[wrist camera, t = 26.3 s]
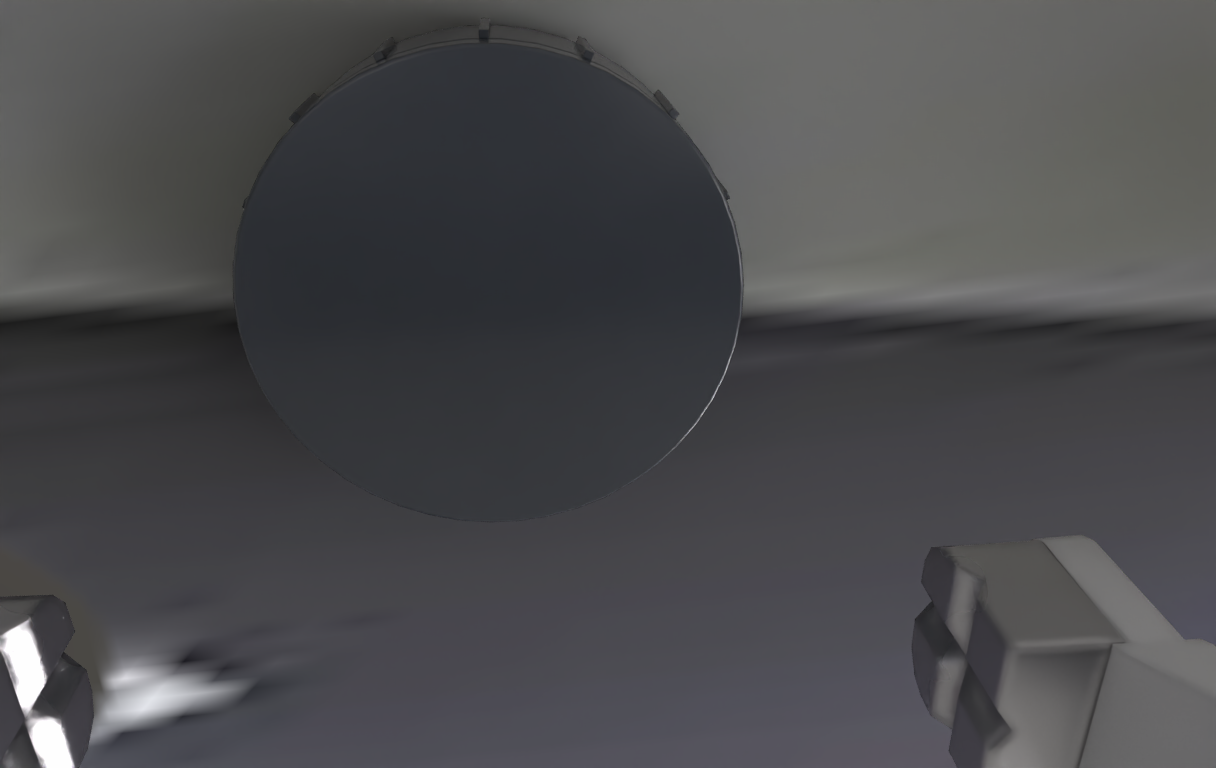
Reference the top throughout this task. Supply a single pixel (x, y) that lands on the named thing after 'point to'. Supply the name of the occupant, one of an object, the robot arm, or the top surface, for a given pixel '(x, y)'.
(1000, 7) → the top surface
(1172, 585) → the top surface
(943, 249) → the top surface
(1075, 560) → the robot arm
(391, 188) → the jar lid
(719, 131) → the top surface
